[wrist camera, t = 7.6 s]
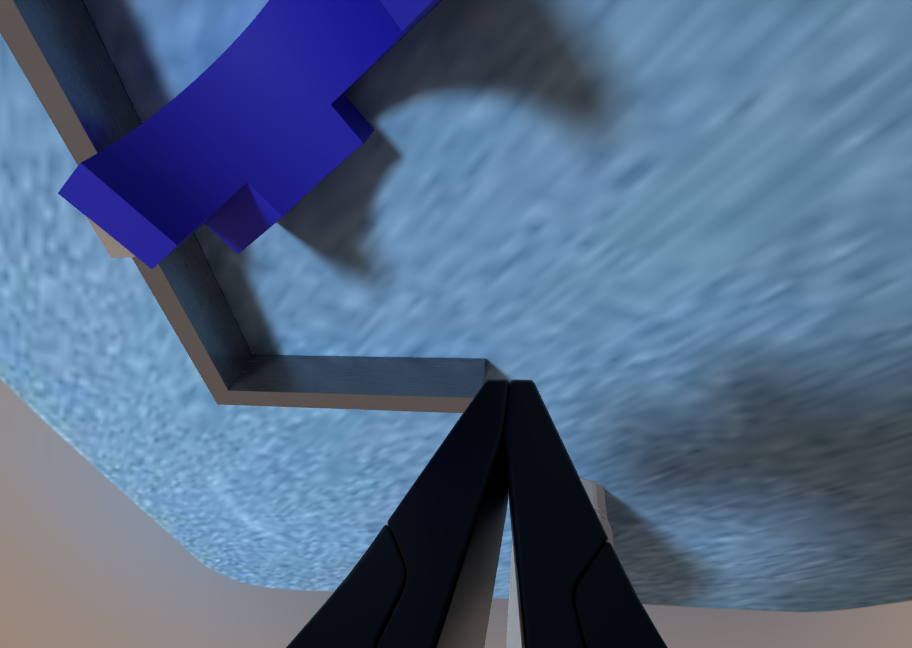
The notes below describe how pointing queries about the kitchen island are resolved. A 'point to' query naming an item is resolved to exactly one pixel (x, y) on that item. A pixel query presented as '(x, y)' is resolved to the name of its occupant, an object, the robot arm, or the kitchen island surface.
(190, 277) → the rail bay
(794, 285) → the kitchen island surface
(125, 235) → the blue stepped block
